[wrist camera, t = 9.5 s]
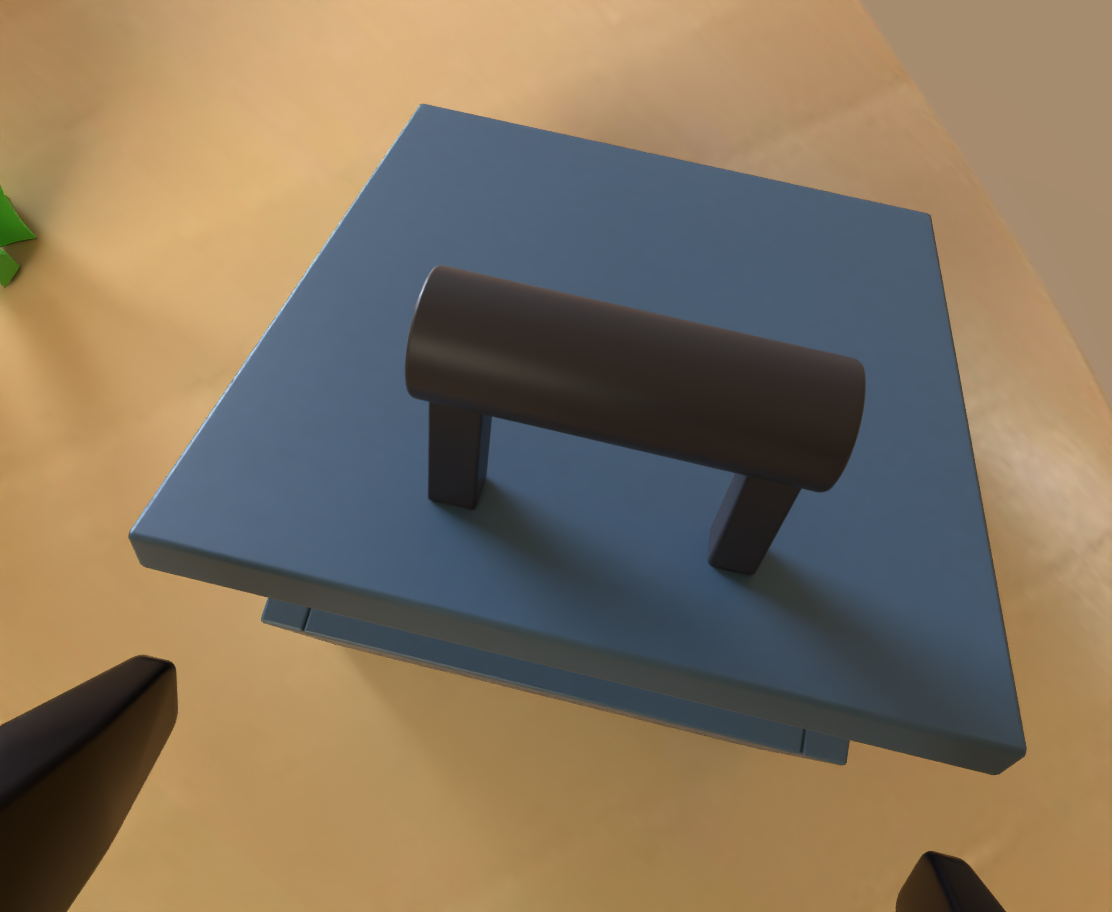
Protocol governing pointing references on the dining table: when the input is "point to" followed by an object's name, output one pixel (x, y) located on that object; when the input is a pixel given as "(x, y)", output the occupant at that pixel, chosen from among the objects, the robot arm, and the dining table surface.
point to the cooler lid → (620, 440)
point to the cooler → (556, 683)
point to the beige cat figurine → (10, 237)
